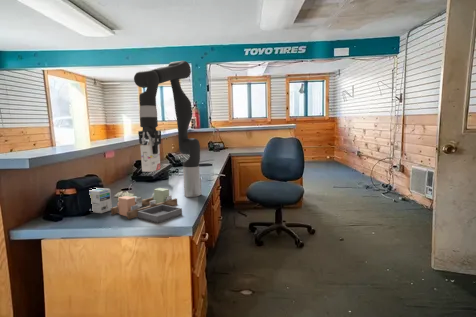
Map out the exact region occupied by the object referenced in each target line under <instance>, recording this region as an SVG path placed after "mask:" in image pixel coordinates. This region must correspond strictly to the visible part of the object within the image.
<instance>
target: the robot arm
mask: <svg viewBox="0 0 476 317" xmlns="http://www.w3.org/2000/svg"><path fill="white" fill-rule="evenodd" d="M191 73H192V70H191V66H190V63H189V62H187V61H185V60H180V61H179V60H178V61H172V62H169V64H168V65H167V66H161V67H156V68H153V69H147V70H139V71H137V72H136V73H135V74H134V77H133V81H134V83H135V85H136V86H137V87H139V88H143V89H144V88H146V90H145V91H143V92H141V93H139V98H138V100H139V125H140V128H142V130H138V132H137V133H138V141H139V145H141V146H142V145H149V138H151V141H152V145H153V146H152V150H153V154H158V145H159V146H160V145H161V144H162V131H161V130H157V128H158V127H159V126H158V123H159V122H158V109H157V93H158V89H159V88H158V87H159V85H160V84H163V83H166V82H169V83H170V86H171V90H172V97H173V103H174V112H175V117H176V124H177V126H176V127H177V137H178V148H179V152H180V153H181V154H182V155H189V158H188V159H186V160H184V161H183V162H182V170H183V171H182V172H183V173H182V174H183V190H184V192H183V194H184V197H186V198H196V197H199V196H201V195H202V193H203V192H202V178H200V177H201V175H200V161H201V143H200V141H199V140H198V138H189V133H188V129H189V125H190V123H191V121H192V118H193V107H192V102H191V101H190V99H189V97H188V96H187V95H186V94H185V92H184V91H183V89H182V87H181V86H182V85H181V82H180V80H182V79H183V80H184V79H188V78H190V76H191ZM157 140H158V141H157Z"/></svg>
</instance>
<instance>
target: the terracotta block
mask: <svg viewBox="0 0 476 317" xmlns="http://www.w3.org/2000/svg"><path fill="white" fill-rule="evenodd" d="M118 202H119V213H118V214H119V215H121V216H124V217H127V212H129V211H131V206H133V205H135V202H136V197H133V196H128V195H123V196H119V197H118Z"/></svg>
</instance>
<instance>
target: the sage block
mask: <svg viewBox="0 0 476 317" xmlns="http://www.w3.org/2000/svg"><path fill="white" fill-rule="evenodd" d="M153 194H154V199H155V200H156V204H158V203H161V202H165V201H166V197H167V196H170V189H168V188H162V187H158V188H155V189H153Z"/></svg>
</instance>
